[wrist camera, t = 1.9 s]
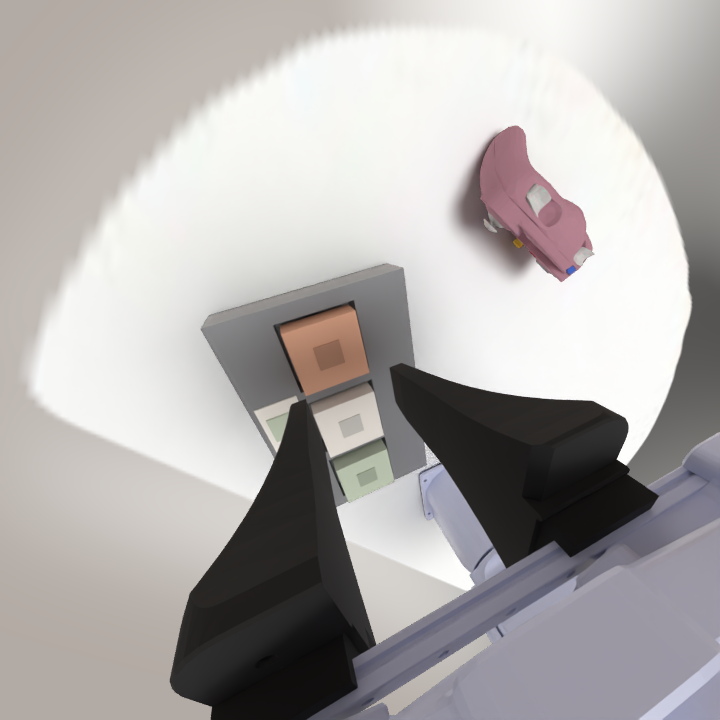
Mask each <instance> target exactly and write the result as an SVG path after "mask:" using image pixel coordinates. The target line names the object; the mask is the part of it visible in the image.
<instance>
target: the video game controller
mask: <svg viewBox="0 0 720 720" xmlns="http://www.w3.org/2000/svg"><path fill="white" fill-rule="evenodd" d="M480 189H481V195H482V196H481V197H480V199H481V200H482V202H483V203H484V204H485V205H486V208H487V211H488V216H489V220H490V221H489V222H488V221H487V220H486V219H485V218H484V223H485V227H486V228H487V229H488V230H489V231H490V232H495V233H497V232H498V231H497V230H496V229H495V227H499V228H504V229H505V230H509V231H510V232H511V233H512V234H513V235H514V236H515V237H516V239H515V240H514V241H513V243H514V245H515V246H516V247H518V248H521V247H522V246H523V245H524V246H525V247H526V248H527V249H528V250H529V252H530V253H531V254H532V255H533V256H534V257H535V258H536V262H537V263H538V264H539V265H540V266H541V267H542V268H543V269H544V270H545V271H546V272H547V273H550V274H552V275H553V276H554V277H556V278H557V279H558V280H559V281H561V282H563V281H564V280H565V279H566V278H568V277H569V276H570V275H571V274H573V273H574V272H575V271H577V270H578V269H579V268H580V267H581V266H582V265H583V263H584V262H585V260H586V259H587V258H588V257H590V256H592V255H594V253H593V252H592V244H591V241H590V239H589V237H588V235H587V233H586V221H585V218H584V214H583V212H582V210H581V209H580V208H579V207H578V206H577V205H575V204H574V203H572V202H570V201H568V200H566V199H563V198H562V197H561V196H560V195H559V194H558V193H557V192H556V190H555V189H554V188H553V187H552V186H551V184H550V183H549V182H547V181H546V180H545V179H544V178H543V177H542V176H541V175H540V174H539V173H538V172H537V171H535V169H534V168H533V167H532V166H531V164H530V162H529V159H528V155H527V148H526V136H525V133H524V131H523V129H521V128H520V127H519V126H511V127H508V128H507V129H505V130H503V131H502V132H500V133H499V134H498V135H497V136H496V137H495V138H494V139H493V141H492V142H491V144H490V146H489V147H488V149H487V151H486V153H485V156H484V158H483V162H482V166H481V169H480Z"/></svg>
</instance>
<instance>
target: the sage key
mask: <svg viewBox="0 0 720 720" xmlns="http://www.w3.org/2000/svg"><path fill="white" fill-rule="evenodd" d="M332 460H333V463H334V466H335V469H336V472H337V475H338V477H339V480H340V482H341V485H342V487H343V490H344V492H345V495H346V497H347V500H348V502H349V503H350V502H352V501H354V500H356V499H358V498H360V497H363V496H365V495H367V494H369V493H371V492H373V491H375V490H378V489H380V488H382V487H384V486H386V485H388V484H390V483H393V482H394V477H393V473H392V469H391V464H390V460H389V455H388V451H387V448H386V446H385V444H384V443H383V441H382V439H381V438H380V439H378V440H376V441H373V442H371V443H369V444H366V445H364V446H362V447H359V448H357V449H355V450H352V451H350V452H348V453H345V454H343V455H341V456H338V457H336V458H334V459H332Z"/></svg>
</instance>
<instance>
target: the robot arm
mask: <svg viewBox="0 0 720 720" xmlns="http://www.w3.org/2000/svg"><path fill="white" fill-rule="evenodd" d="M389 369H390V374H391V380H392V386H393V391H394V397H395V402H396V404H397V406H398V407H399V409H400V411H401V412H402V414H403V415H404V417H405V418H406V420H407V421H408V422H409V424H410V425H411V426H412V427H413V429H414V430H415V431H416V432H417V434H418V435H419V436H420V437H421V438H422V440H423V441H424V442H425V443H426V444H427V446H428V447H429V448H430V449H431V451H432V452H433V453H434V454H435V455H436V457H437V458H438V459H439V461H440V462H441V463H442V464H441V465H438V466H436V467H434V468H432V469H430V470H428V471H426V472H424V473H422V474H421V475H420V477H419V478H420V485H421V492H422V499H423V506H424V512H425V517H426V519H427V520H430V519H432V518H434V519H435V520H436V522H437V524H438V525H439V527H440V529H441V530H442V532H443V534H444V535H445V537H446V539H447V540H448V542H449V544H450V545H451V547H452V549H453V550H454V552H455V554H456V555H457V557H458V559H459V560H460V562H461V563H462V565H463V566H464V567H465V568H466V569H467V570H468V571H469V572H471V574H470V577H471V579H472V580H473V582H474V584H475V585H474V586H473V587H472V588H471V590H469V591H468V592H466V593H464V594H463V595H461V596H459V597H457V598H456V599H454V600H452V601H451V602H449V603H447V604H445V605H444V606H442V607H441V608H439V609H437V610H435V611H434V612H432V613H430V614H429V615H427V616H425V617H423V618H422V619H420V620H418V621H417V622H415V623H413V624H411V625H410V626H408V627H406V628H405V629H403V630H401V631H400V632H398V633H396V634H395V635H393V636H391V637H389V638H388V639H386V640H384V641H383V642H381V643H379V644H377V645H376V642H375V639H374V636H373V632H372V629H371V626H370V623H369V619H368V616H367V613H366V609H365V606H364V603H363V600H362V596H361V593H360V589H359V586H358V583H357V579H356V576H355V573H354V569H353V566H352V562H351V559H350V555H349V552H348V549H347V546H346V542H345V538H344V535H343V531H342V528H341V524H340V521H339V517H338V514H337V509H336V505H335V500H334V495H333V490H332V484H331V479H330V474H329V468H328V463H327V458H326V453H325V450H324V446H323V443H322V440H321V437H320V433H319V431H318V428H317V426H316V423H315V421H314V419H313V416H312V414H311V411H310V409H309V406H308V404H307V401H306V399H304V400H301V401H299V402H296V403H293V404H291V406H290V410H289V415H288V419H287V423H286V427H285V430H284V434H283V437H282V440H281V443H280V446H279V449H278V451H277V454H276V456H275V459H274V462H273V464H272V466H271V469H270V471H269V473H268V475H267V477H266V479H265V481H264V484H263V486H262V488H261V489H260V491H259V493H258V495H257V497H256V499H255V500H254V502H253V504H252V506H251V508H250V509H249V511H248V513H247V514H246V516H245V518H244V519H243V521H242V522H241V524H240V525H239V527H238V528H237V530H236V531H235V533H234V535H233V536H232V538H231V539H230V541H229V542H228V544H227V545H226V546H225V548H224V549H223V551H222V552H221V553H220V555H219V556H218V557H217V559H216V560H215V561H214V563H213V564H212V565H211V567H210V568H209V569H208V571H207V572H206V573H205V575H204V576H203V577H202V578H201V580H200V581H199V583H198V584H197V585H196V586H195V588H194V589H193V590H192V591H191V593H190V595H189V599H188V602H187V606H186V609H185V613H184V616H183V620H182V624H181V628H180V633H179V638H178V643H177V648H176V652H175V657H174V662H173V667H172V672H171V677H170V683H171V687H172V689H173V690H174V691H175V692H176V693H177V694H179V695H180V696H182V697H184V698H188V699H190V700H193V701H196V702H199V703H202V704H205V705H208V706H212V712H211V720H720V432H719V433H717V434H715V435H714V436H712V437H710V438H708V439H707V440H705V441H703V442H702V443H700V444H698V445H697V446H695V447H694V448H693V449H692V450H691V451H690V452H689V453H688V454H687V456H686V457H685V458H684V460H683V462H682V466H680V467H679V468H677V469H675V470H674V471H672V472H670V473H669V474H667V475H665V476H663V477H662V478H660V479H658V480H657V481H655V482H653V483H652V484H650V485H648V486H646V487H645V486H644V485H642V484H641V483H639V482H638V481H636V480H635V479H633V478H632V477H630V476H629V475H627V473H629V471H630V469H629V468H628V467H627V466H626V465H624V464H623V463H621V462H620V461H618V460H616V459H617V457H618V455H619V453H620V451H621V448H622V446H623V444H624V442H625V440H626V437H627V434H628V422H627V421H626V419H625V418H624V417H622V416H620V415H619V414H617V413H615V412H613V411H611V410H609V409H607V408H605V407H603V406H601V405H599V404H597V403H596V402H594V401H583V400H554V399H542V398H530V397H522V396H514V395H508V394H501V393H496V392H490V391H486V390H481V389H477V388H473V387H469V386H465V385H461V384H458V383H455V382H452V381H448V380H445V379H443V378H440V377H437V376H434V375H431V374H429V373H426V372H424V371H421V370H419V369H416V368H414V367H411V366H409V365H406V364H403V363H400V364H397V365H395V366H392V367H389ZM485 633H486V634H487V636H488V637H489V639H490V641H491V642H492V645H490V646H489V647H487V648H486V649H484V650H483V651H481V652H480V653H479V654H477V655H476V656H474V657H473V658H472V659H470V660H469V661H468V662H466V663H465V664H463V665H462V666H461V667H459V668H458V669H457V670H455V671H454V672H453V673H451V674H450V675H449V676H447V677H446V678H444V679H443V680H442V681H440V682H439V683H438V684H436V685H435V686H434V687H432V688H431V689H430V690H429V691H427V692H426V693H424V694H423V695H422V696H420V697H419V698H418V699H416V700H415V701H414V702H412V703H411V704H410V705H409V706H407V707H406V708H405V709H403V710H402V711H401V712H399V713H398V714H397V715H392V716H391V715H389V712H388V708H387V706H386V705H385V704H384V703H380V704H378V705H376V706H374V707H371V708H369V709H367V710H365V709H366V708H368V707H369V706H371V705H372V704H374V703H376V702H377V701H379V700H380V699H382V698H384V697H385V696H387V695H388V694H390V693H391V692H393V691H395V690H396V689H398V688H399V687H401V686H403V685H404V684H406V683H407V682H409V681H410V680H412V679H414V678H415V677H417V676H418V675H420V674H422V673H423V672H425V671H426V670H428V669H429V668H431V667H433V666H434V665H436V664H437V663H439V662H441V661H442V660H444V659H445V658H447V657H448V656H450V655H451V654H453V653H454V652H456V651H458V650H460V649H461V648H463V647H464V646H466V645H467V644H469V643H471V642H472V641H474V640H475V639H477V638H479V637H480V636H482V635H483V634H485ZM363 710H364V711H363ZM361 711H362V712H361Z"/></svg>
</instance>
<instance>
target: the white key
mask: <svg viewBox="0 0 720 720" xmlns="http://www.w3.org/2000/svg"><path fill="white" fill-rule="evenodd" d="M310 405H311V408H312V412H313V415H314V418H315V420H316V423H317V425H318V428H319V430H320V433H321V435H322V438H323V440H324V443H325V445H326V448H327V450H328V453H329V455H330V457H331V458H332V457H334V456H336V455H339V454H341V453H343V452H346V451H348V450H350V449H353V448H355V447H357V446H360V445H362V444H364V443H367V442H369V441H371V440H374V439H376V438H379V437H381V436H383V435H384V434H383V429H382V425H381V420H380V416H379V412H378V407H377V403H376V398H375V394H374V391H373V389H372V388H371V386H370V385H369V384H368V382H367V381H366V382H363V383H361V384H358V385H356V386H353V387H350V388H348V389H345V390H342V391H340V392H337V393H334V394H332V395H329V396H327V397H324V398H321V399H319V400H316V401H313V402H311V403H310Z"/></svg>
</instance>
